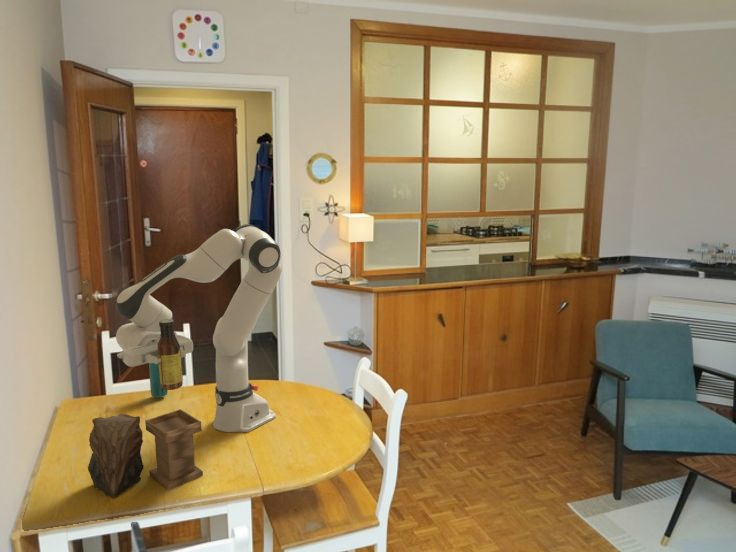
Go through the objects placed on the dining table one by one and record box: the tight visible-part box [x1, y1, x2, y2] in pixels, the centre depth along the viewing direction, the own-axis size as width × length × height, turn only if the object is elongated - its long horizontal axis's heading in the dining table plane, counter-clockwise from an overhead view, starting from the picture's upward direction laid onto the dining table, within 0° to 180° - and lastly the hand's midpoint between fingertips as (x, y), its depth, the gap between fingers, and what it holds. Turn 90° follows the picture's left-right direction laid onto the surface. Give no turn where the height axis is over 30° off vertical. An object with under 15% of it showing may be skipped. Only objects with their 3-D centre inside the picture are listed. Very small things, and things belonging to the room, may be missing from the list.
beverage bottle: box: [148, 363, 169, 398], centre depth 232 cm, size 6×7×20 cm
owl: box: [87, 413, 144, 499], centre depth 172 cm, size 13×13×20 cm
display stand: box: [144, 409, 204, 491], centre depth 176 cm, size 11×12×18 cm
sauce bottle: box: [157, 319, 184, 391], centre depth 170 cm, size 7×6×20 cm
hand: (171, 357), depth 170 cm, fingers closed on sauce bottle, 6 cm apart
